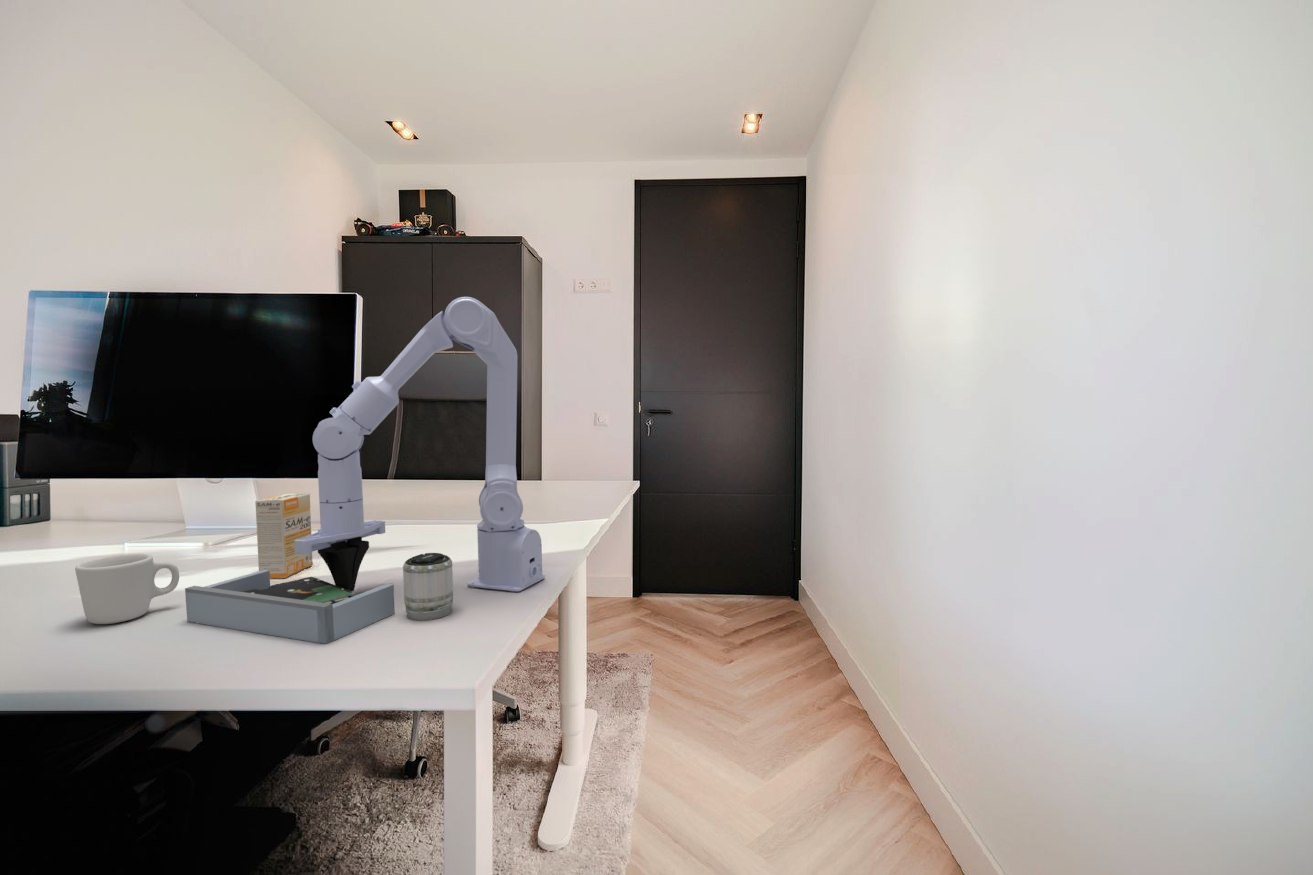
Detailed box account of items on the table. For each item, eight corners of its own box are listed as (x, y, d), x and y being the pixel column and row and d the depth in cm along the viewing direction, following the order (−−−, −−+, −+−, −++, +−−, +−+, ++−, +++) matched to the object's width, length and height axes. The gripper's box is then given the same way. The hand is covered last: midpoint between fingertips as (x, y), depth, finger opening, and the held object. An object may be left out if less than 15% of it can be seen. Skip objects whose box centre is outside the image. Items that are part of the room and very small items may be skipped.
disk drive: (236, 612, 89) (281, 633, 80) (235, 592, 89) (280, 612, 80) (312, 593, 98) (361, 611, 89) (311, 575, 97) (360, 591, 88)
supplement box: (287, 578, 104) (282, 499, 103) (257, 579, 104) (253, 500, 103) (314, 565, 112) (311, 492, 111) (287, 565, 112) (284, 492, 111)
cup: (176, 600, 93) (173, 546, 93) (185, 612, 88) (182, 556, 87) (77, 618, 86) (73, 560, 85) (81, 634, 80) (76, 571, 80)
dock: (394, 613, 86) (393, 581, 86) (325, 643, 76) (324, 607, 75) (265, 596, 95) (263, 566, 94) (187, 621, 84) (185, 588, 84)
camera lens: (394, 618, 84) (392, 560, 84) (426, 603, 90) (424, 549, 90) (433, 623, 82) (430, 563, 82) (463, 608, 88) (461, 552, 88)
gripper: (359, 491, 101) (363, 575, 102) (276, 507, 87) (281, 603, 88) (394, 493, 98) (397, 579, 99) (314, 509, 85) (319, 608, 86)
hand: (345, 591), depth 93 cm, fingers closed
